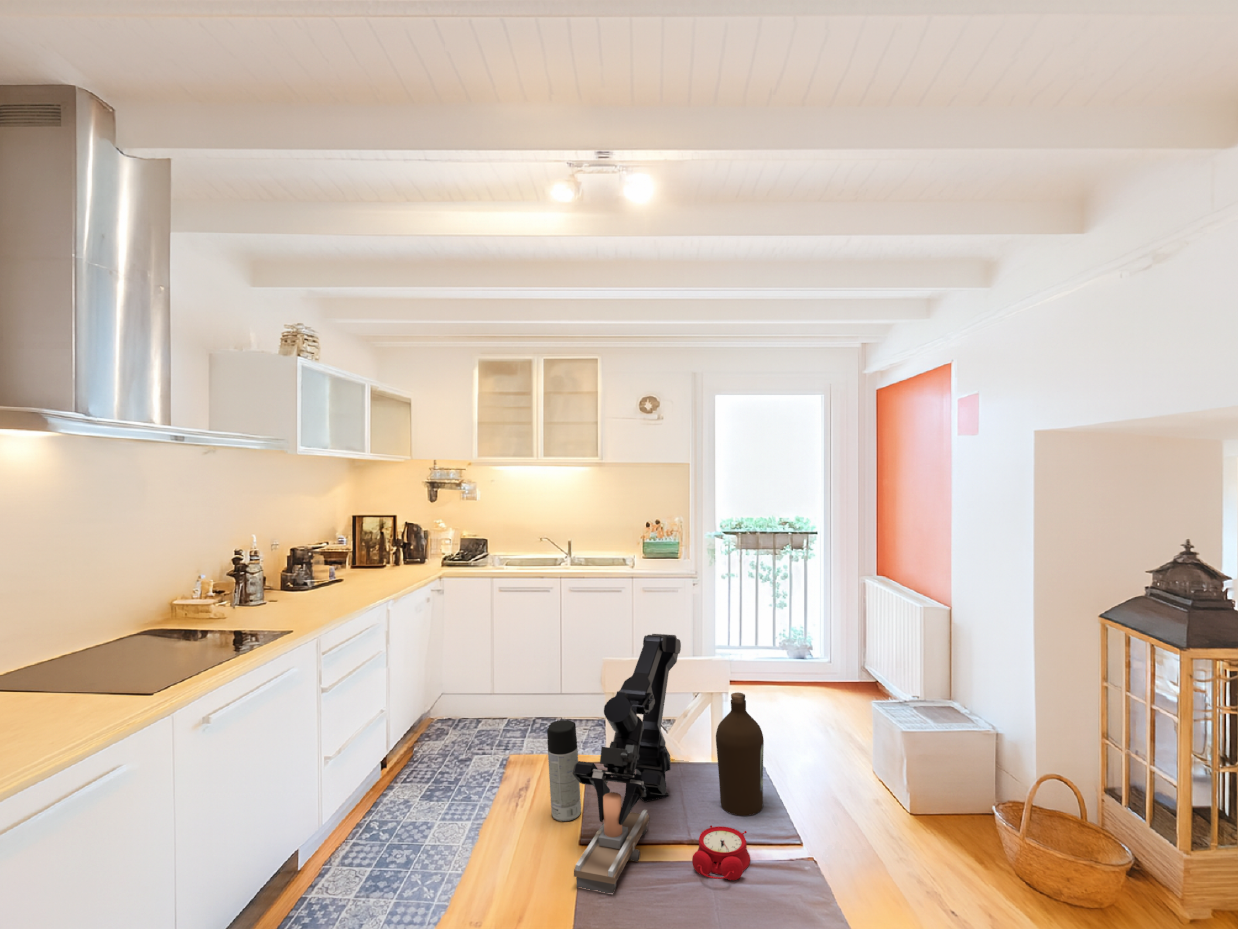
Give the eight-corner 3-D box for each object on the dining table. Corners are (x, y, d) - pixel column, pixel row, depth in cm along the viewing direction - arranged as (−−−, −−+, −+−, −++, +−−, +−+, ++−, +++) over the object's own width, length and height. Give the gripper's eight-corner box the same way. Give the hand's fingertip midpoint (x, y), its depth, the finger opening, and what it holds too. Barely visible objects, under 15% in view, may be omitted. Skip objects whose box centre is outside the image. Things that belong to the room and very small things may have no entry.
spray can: (584, 806, 149) (579, 719, 148) (577, 823, 142) (571, 731, 142) (556, 805, 150) (550, 718, 150) (547, 822, 143) (542, 731, 143)
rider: (607, 831, 132) (606, 789, 132) (628, 835, 131) (626, 792, 131) (598, 845, 128) (597, 801, 128) (619, 849, 126) (618, 804, 126)
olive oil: (722, 819, 142) (719, 704, 142) (714, 794, 153) (710, 687, 153) (771, 816, 142) (767, 702, 142) (759, 792, 153) (755, 685, 153)
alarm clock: (754, 828, 132) (741, 852, 118) (754, 862, 131) (741, 891, 117) (703, 820, 135) (685, 843, 122) (702, 853, 134) (684, 880, 120)
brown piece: (609, 823, 141) (609, 803, 142) (654, 831, 138) (653, 810, 138) (569, 886, 121) (568, 863, 121) (620, 896, 117) (619, 872, 117)
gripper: (574, 722, 136) (553, 801, 126) (661, 731, 130) (646, 815, 120) (589, 744, 144) (571, 821, 133) (672, 754, 137) (659, 835, 127)
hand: (610, 823), depth 128 cm, fingers closed on rider, 4 cm apart
